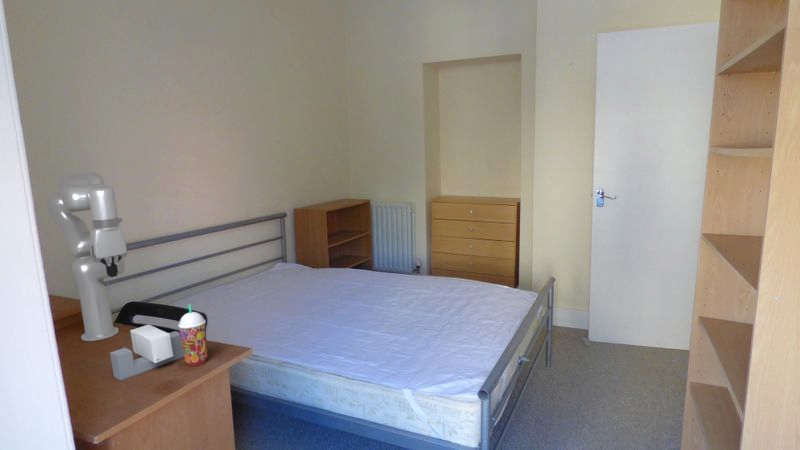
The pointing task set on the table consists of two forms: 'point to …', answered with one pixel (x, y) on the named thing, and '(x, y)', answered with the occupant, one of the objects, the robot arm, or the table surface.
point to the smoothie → (193, 338)
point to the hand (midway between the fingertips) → (112, 275)
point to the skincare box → (151, 343)
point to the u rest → (141, 359)
